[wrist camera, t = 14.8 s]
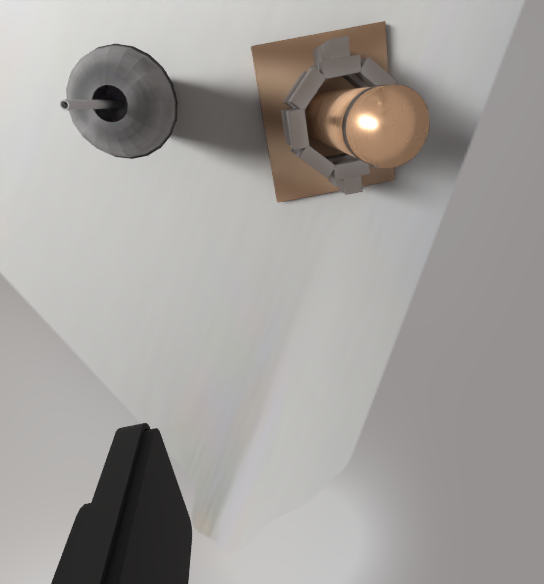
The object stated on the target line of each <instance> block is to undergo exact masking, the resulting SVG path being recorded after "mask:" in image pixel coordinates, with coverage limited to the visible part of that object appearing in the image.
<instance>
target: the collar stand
mask: <svg viewBox="0 0 544 584" xmlns="http://www.w3.org/2000/svg"><path fill="white" fill-rule="evenodd" d="M251 50H252V56H253V62H254V68H255V74H256V80H257V86H258V92H259V97H260V103H261V109H262V115H263V121H264V127H265V133H266V139H267V145H268V151H269V157H270V163H271V169H272V175H273V180H274V186H275V192H276V198H277V202H283V201H288V200H293V199H298V198H304V197H309V196H314V195H319V194H324V193H330V192H335V191H340V190H341V191H342V192H343V193H345V194H346V195H347V194H353V193H358V192H363V191H362V186H366V185H371V184H377V183H382V182H387V181H392V180H395V176H394V167H393V168H381V167H377V166H374V165H371V164H367V163H365V162H363V161H361V160H359V159H357V158H356V157H354V156H351V155H349V154H347V153H345V152H342V151H340V150H338V149H336V148H333V147H331V146H329V145H327V144H325V143H322V142H320V141H318V140H316V139H314V138H313V137H312V136H311V135H310V134H309V132H308V130H307V125H306V118H305V111H306V108H307V106H308V104H309V102H310V101H311V100H312V99H313V98H314V97H315V96H316V95H318V94H320V93H322V92H327V91H337V90H346V89H356V88H366V87H372V86H377V85H395V84H396V83H397V81H396V80H395V79H394V78H393V77H392V76H391V75H389V74H388V61H387V45H386V29H385V21H384V22H378V23H373V24H368V25H362V26H357V27H352V28H346V29H341V30H336V31H330V32H325V33H320V34H314V35H309V36H304V37H298V38H293V39H287V40H282V41H277V42H271V43H266V44H261V45H255V46H251Z"/></svg>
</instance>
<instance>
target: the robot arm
mask: <svg viewBox="0 0 544 584" xmlns="http://www.w3.org/2000/svg"><path fill="white" fill-rule="evenodd" d="M191 545H192V526H191V521H190V517H189V514H188V511H187V509H186V506H185V503H184V500H183V497H182V494H181V491H180V489H179V486H178V483H177V480H176V477H175V474H174V471H173V468H172V465H171V462H170V460H169V457H168V454H167V451H166V448H165V445H164V442H163V439H162V437H161V434H160V431H159V430H158V429H157V428H155V429H150V427H149V425H148V424H147V423H143V424H138V425H133V426H128V427H123V428H119V429H118V430H117V431H116V433H115V436H114V439H113V442H112V445H111V447H110V451H109V453H108V456H107V459H106V462H105V465H104V468H103V471H102V474H101V477H100V479H99V482H98V485H97V488H96V491H95V494H94V497H93V500H92V502H91V503H88V504H84V505H83V507H81V508H80V510H79V512H78V514H77V516H76V519H75V521H74V524H73V527H72V529H71V532H70V534H69V538H68V540H67V543H66V545H65V548H64V551H63V553H62V556H61V559H60V561H59V564H58V567H57V570H56V572H55V575H54V578H53V580H52V583H51V584H188V580H189V568H190V556H191Z"/></svg>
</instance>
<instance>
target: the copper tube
mask: <svg viewBox="0 0 544 584" xmlns="http://www.w3.org/2000/svg"><path fill="white" fill-rule="evenodd" d="M305 118H306V125H307V130H308V132H309V134H310V135H311V136H312V137H313V138H314V139H316V140H318V141H320V142H322V143H325V144H327V145H329V146H331V147H333V148H336V149H338V150H340V151H342V152H345V153H347V154H349V155H351V156H354V157H356V158H357V159H359V160H361V161H363V162H365V163H367V164H371V165H374V166H377V167H381V168H393V167H397V166H400V165H403V164H405V163H406V162H408V161H409V160H411V159H412V158H413V157H414V156H415V155H416V154H417V153H418V152H419V151H420V149H421V148H422V146H423V144H424V143H425V140H426V138H427V135H428V131H429V113H428V109H427V106H426V104H425V102H424V100H423V99H422V98H421V96H420V95H419V94H418V93H417V92H415V91H414V90H413V89H411V88H409V87H406V86H403V85H377V86H372V87H366V88H356V89H346V90H337V91H327V92H322V93H320V94H318V95H316V96H315V97H314V98H313V99H312V100H311V101H310V102H309V104H308V106H307V108H306V111H305Z"/></svg>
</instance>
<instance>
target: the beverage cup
mask: <svg viewBox="0 0 544 584" xmlns="http://www.w3.org/2000/svg"><path fill="white" fill-rule="evenodd" d="M66 90H67V100H61V101H60V107H61V109H63V110H69V112H70V115H71V118H72V121H73V123H74V125H75V126H76V127H77V129H78V130H79V132H80V133H81V135H82V136H83V137H84V138H85V139H86V140H87V141H89V142H90V143H91V144H92V145H93V146H95V147H96V148H97V149H100V150H102V151H104V152H106V153H108V154H111V155H113V156H115V157H122V158H130V159H133V158H138V157H143V156H148V155H149V154H151V153H153V152H154V151H156V150H158V149H159V148H161V147H162V146H163V144H164V143H165V142H166V141H167V140H168V138H169V137H170V136H171V134H172V131H173V129H174V126H175V123H176V120H177V103H178V102H177V98H176V94H175V90H174V86H173V83H172V82H171V80H170V78H169V77H168V75H167V73H166V71H165V70H164V68H163V67H162V66H161V65H160V64H159V63H158V62H157V61H156V60H155V59H154V58H152V57H151V56H150V55H149V54H147V53H145V52H143V51H141V50H139V49H137V48H135V47H133V46H127V45H120V44H112V45H107V46H102V47H98V48H96V49H95V50H93V51H92V52H90V53H89V54H87V55H86V56H84V57H82V58H81V59H80V60H79V62H78V63H77V64H76V66H75V67H74V69H73V70H72V71H71V74H70V77H69V81H68V85H67V88H66Z"/></svg>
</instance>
